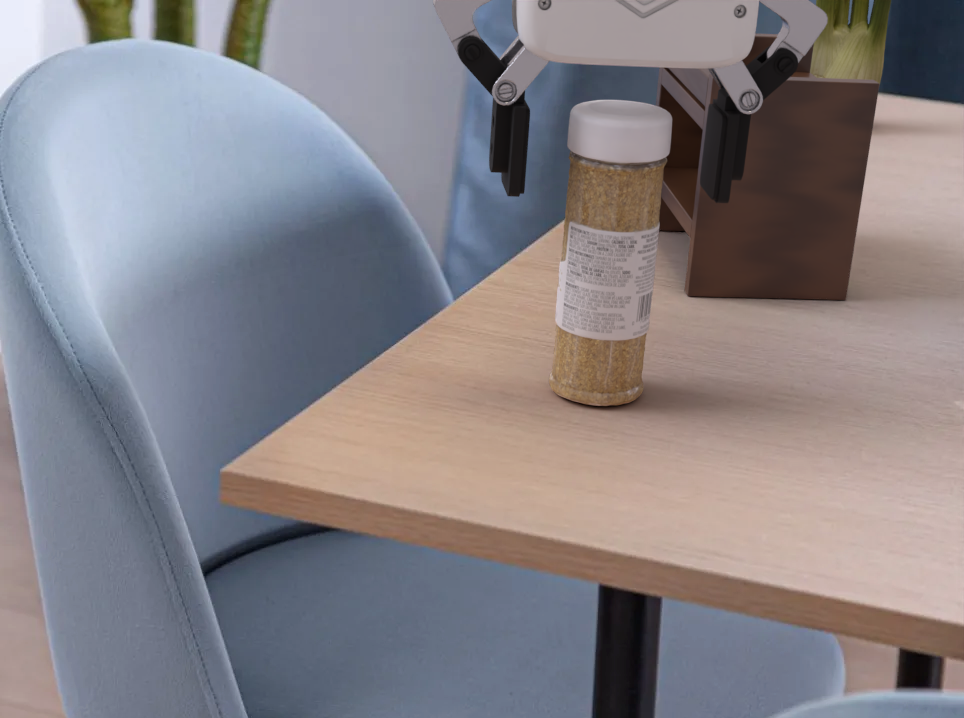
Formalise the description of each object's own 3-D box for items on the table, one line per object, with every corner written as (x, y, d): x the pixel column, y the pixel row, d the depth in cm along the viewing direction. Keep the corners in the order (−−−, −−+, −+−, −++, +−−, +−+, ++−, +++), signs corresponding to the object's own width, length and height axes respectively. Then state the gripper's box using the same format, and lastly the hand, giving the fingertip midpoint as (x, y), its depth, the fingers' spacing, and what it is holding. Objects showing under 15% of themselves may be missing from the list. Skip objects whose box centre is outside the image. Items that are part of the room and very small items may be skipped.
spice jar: (578, 368, 86) (603, 92, 81) (660, 391, 84) (692, 108, 78) (529, 393, 83) (551, 107, 77) (613, 418, 81) (642, 124, 75)
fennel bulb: (877, 127, 140) (902, -31, 134) (857, 137, 136) (882, -24, 131) (807, 115, 142) (829, -39, 137) (786, 126, 138) (807, -33, 133)
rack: (783, 229, 111) (810, 35, 106) (846, 300, 99) (880, 83, 93) (642, 225, 110) (663, 29, 105) (687, 296, 98) (712, 77, 93)
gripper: (448, -231, 68) (427, 209, 75) (887, -208, 69) (823, 221, 77) (435, -239, 75) (416, 165, 82) (835, -218, 76) (781, 177, 84)
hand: (613, 191), depth 79 cm, fingers open, 8 cm apart
